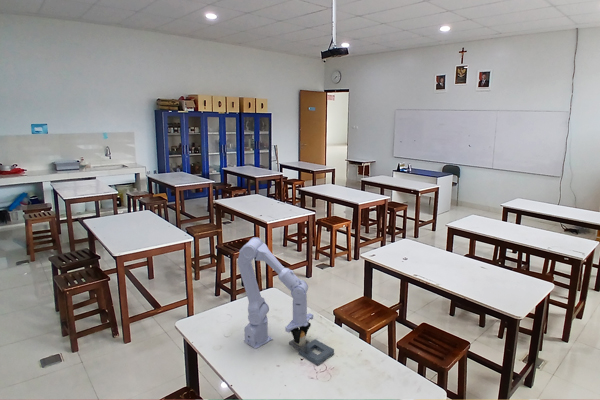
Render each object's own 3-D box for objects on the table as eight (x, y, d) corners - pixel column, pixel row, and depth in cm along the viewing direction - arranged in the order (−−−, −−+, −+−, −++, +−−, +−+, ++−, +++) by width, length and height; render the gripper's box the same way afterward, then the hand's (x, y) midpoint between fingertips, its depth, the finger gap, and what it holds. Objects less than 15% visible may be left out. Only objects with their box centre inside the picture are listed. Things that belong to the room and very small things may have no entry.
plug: (300, 348, 156) (300, 335, 155) (293, 344, 159) (293, 331, 157) (305, 345, 158) (305, 332, 157) (298, 341, 161) (298, 328, 159)
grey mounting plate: (300, 351, 154) (300, 348, 154) (289, 344, 159) (289, 341, 158) (310, 345, 158) (310, 342, 158) (298, 338, 163) (298, 335, 162)
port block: (317, 365, 145) (317, 361, 145) (298, 354, 152) (298, 349, 152) (333, 353, 153) (334, 349, 152) (315, 343, 159) (315, 339, 159)
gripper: (294, 321, 147) (294, 352, 150) (319, 307, 157) (318, 337, 160) (281, 314, 152) (281, 345, 155) (306, 301, 162) (306, 330, 165)
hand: (299, 340), depth 158 cm, fingers closed on plug, 3 cm apart
